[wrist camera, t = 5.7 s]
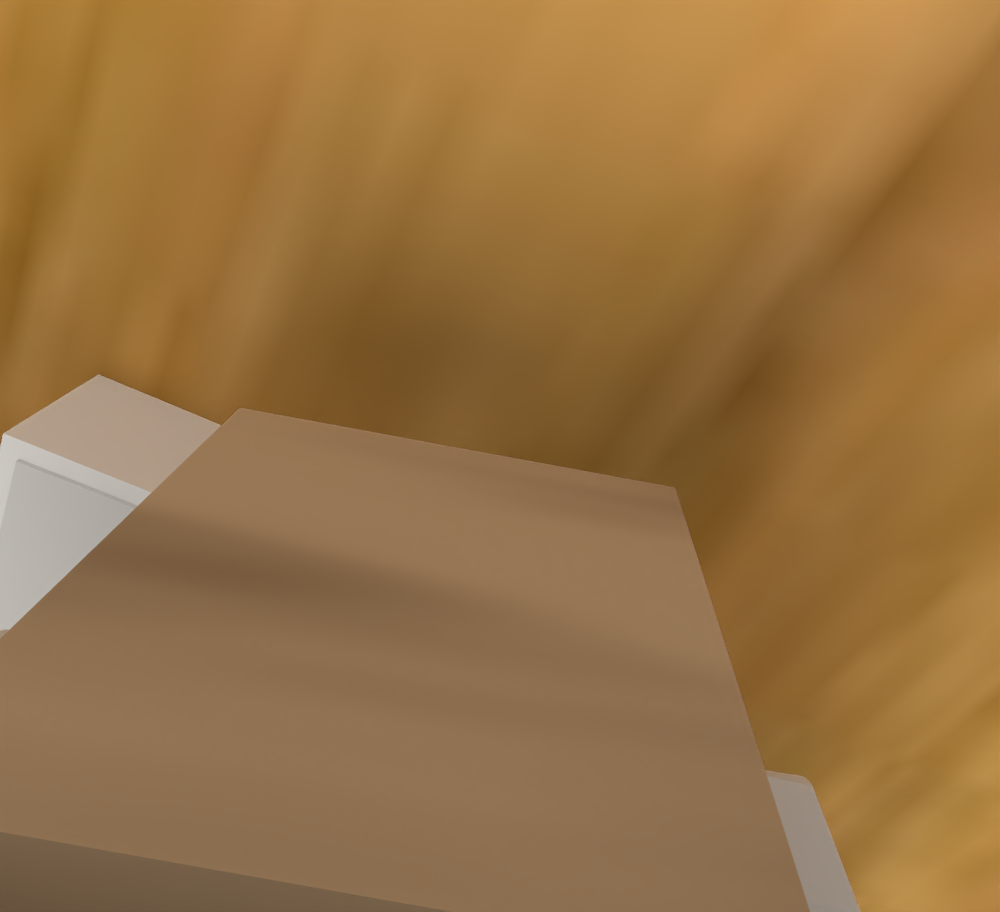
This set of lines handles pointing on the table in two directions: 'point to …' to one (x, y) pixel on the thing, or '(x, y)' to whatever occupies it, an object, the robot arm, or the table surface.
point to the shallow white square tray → (81, 480)
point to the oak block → (383, 696)
